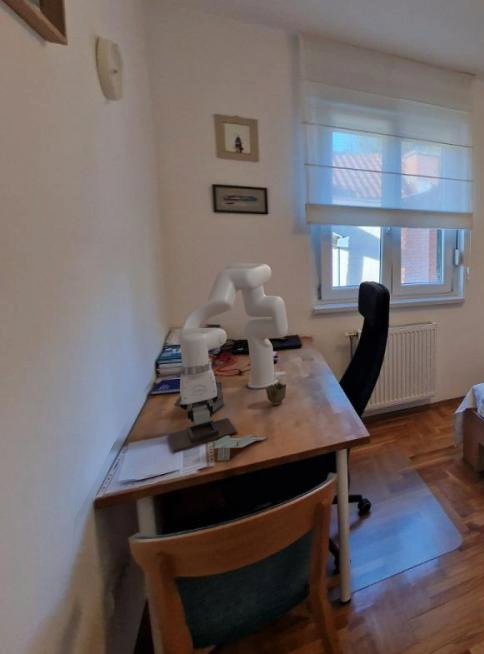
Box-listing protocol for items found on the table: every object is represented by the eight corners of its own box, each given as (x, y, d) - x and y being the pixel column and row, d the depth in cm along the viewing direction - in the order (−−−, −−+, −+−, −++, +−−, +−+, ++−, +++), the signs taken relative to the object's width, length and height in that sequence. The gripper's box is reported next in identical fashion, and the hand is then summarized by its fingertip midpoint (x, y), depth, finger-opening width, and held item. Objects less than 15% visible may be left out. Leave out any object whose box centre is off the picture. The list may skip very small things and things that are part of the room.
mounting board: (228, 420, 159) (227, 414, 158) (236, 433, 149) (236, 427, 148) (168, 436, 146) (167, 430, 146) (173, 453, 136) (173, 446, 136)
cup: (291, 402, 174) (290, 384, 173) (275, 409, 168) (274, 391, 166) (279, 399, 177) (277, 381, 176) (263, 406, 171) (261, 387, 169)
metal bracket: (247, 441, 133) (198, 443, 131) (245, 460, 132) (196, 462, 131) (268, 431, 147) (224, 432, 146) (267, 448, 146) (222, 450, 145)
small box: (208, 405, 171) (205, 381, 169) (224, 405, 171) (222, 381, 170) (191, 417, 160) (188, 392, 159) (209, 417, 161) (206, 391, 159)
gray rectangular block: (206, 414, 151) (206, 405, 150) (210, 421, 146) (209, 411, 145) (191, 418, 148) (190, 408, 147) (194, 425, 142) (193, 415, 142)
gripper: (166, 377, 135) (172, 429, 138) (227, 365, 147) (231, 414, 149) (164, 371, 141) (169, 422, 143) (222, 360, 152) (226, 407, 155)
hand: (200, 417), depth 146 cm, fingers closed on gray rectangular block, 4 cm apart
